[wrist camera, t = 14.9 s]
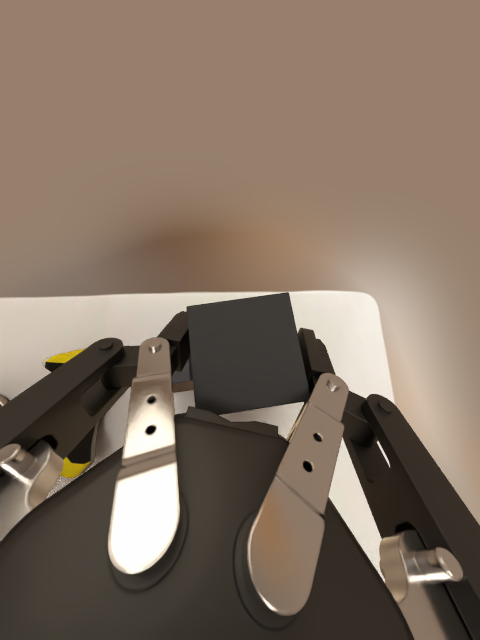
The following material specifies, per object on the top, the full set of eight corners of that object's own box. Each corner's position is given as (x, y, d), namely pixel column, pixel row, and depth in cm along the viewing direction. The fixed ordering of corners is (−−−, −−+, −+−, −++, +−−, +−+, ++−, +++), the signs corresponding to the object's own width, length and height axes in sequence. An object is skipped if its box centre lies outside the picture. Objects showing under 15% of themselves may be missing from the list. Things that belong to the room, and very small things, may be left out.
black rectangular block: (219, 387, 17) (196, 418, 8) (212, 332, 18) (186, 306, 9) (274, 379, 17) (311, 400, 8) (264, 325, 18) (288, 291, 9)
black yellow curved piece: (140, 350, 28) (76, 339, 28) (117, 348, 23) (38, 334, 23) (110, 461, 25) (39, 447, 25) (74, 489, 20) (-15, 471, 20)
